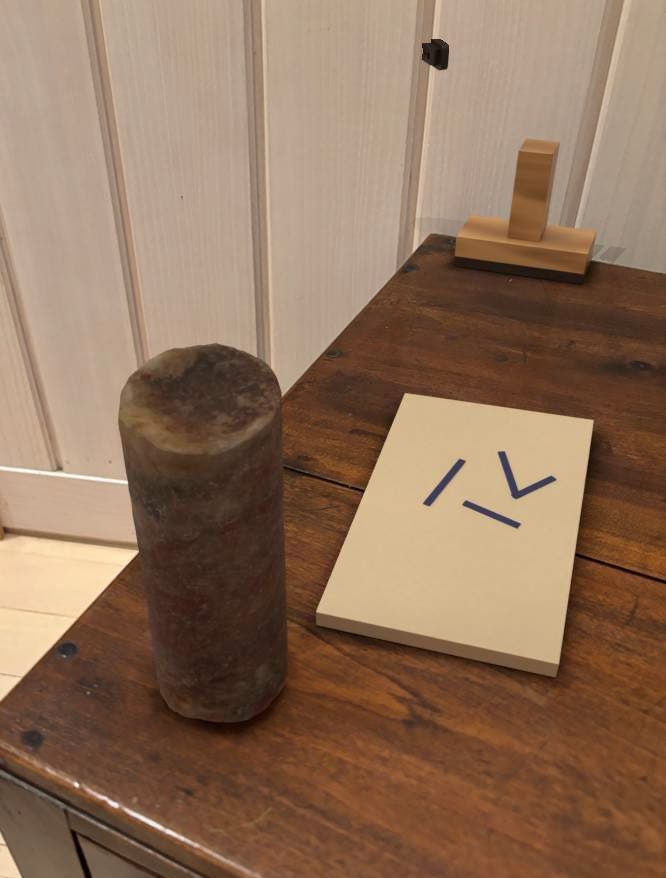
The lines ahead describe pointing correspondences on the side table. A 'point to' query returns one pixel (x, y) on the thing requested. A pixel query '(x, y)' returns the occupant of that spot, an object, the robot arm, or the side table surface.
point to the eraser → (528, 228)
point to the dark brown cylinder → (210, 526)
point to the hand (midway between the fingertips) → (488, 52)
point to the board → (466, 534)
